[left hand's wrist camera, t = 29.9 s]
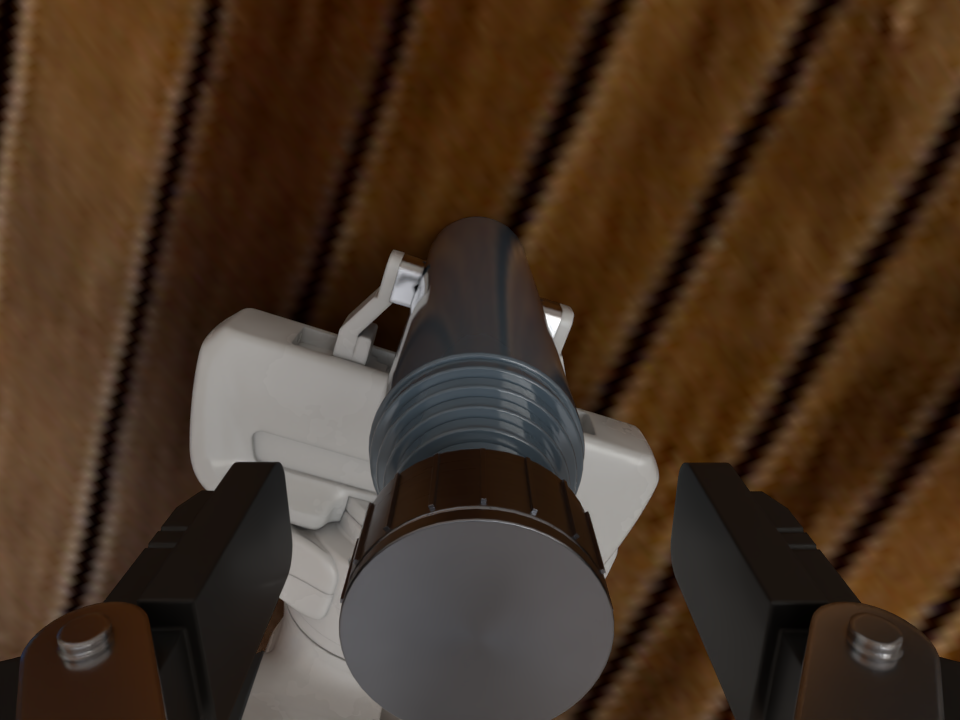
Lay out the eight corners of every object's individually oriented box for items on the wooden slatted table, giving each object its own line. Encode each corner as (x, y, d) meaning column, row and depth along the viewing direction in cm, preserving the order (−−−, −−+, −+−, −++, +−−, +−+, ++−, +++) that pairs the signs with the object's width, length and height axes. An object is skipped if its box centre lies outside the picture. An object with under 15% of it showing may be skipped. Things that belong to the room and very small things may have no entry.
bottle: (489, 195, 33) (519, 406, 10) (545, 278, 34) (687, 631, 11) (407, 254, 34) (256, 571, 11) (465, 332, 35) (442, 758, 12)
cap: (477, 396, 11) (477, 459, 9) (643, 548, 12) (676, 636, 10) (309, 548, 12) (277, 635, 10) (476, 676, 13) (477, 779, 11)
